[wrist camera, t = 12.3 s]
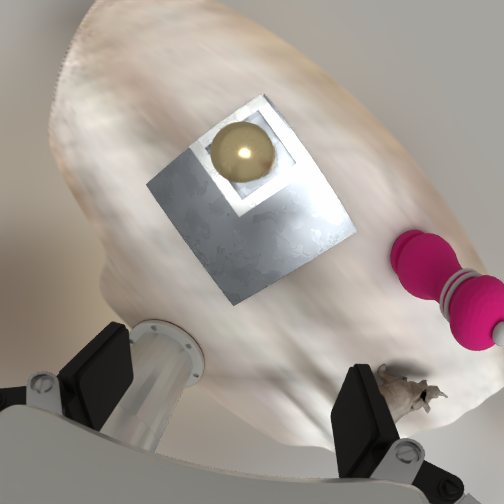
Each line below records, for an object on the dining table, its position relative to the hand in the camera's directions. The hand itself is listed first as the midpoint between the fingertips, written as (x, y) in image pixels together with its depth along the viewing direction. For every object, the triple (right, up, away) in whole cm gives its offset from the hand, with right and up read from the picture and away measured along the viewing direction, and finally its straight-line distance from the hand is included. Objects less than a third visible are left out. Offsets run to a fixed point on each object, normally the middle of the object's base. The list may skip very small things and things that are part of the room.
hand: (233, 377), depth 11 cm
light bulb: (+1, +15, +18) cm, 24 cm away
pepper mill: (+21, +5, +21) cm, 30 cm away
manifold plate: (0, +11, +21) cm, 24 cm away
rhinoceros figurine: (+21, -15, +27) cm, 37 cm away
